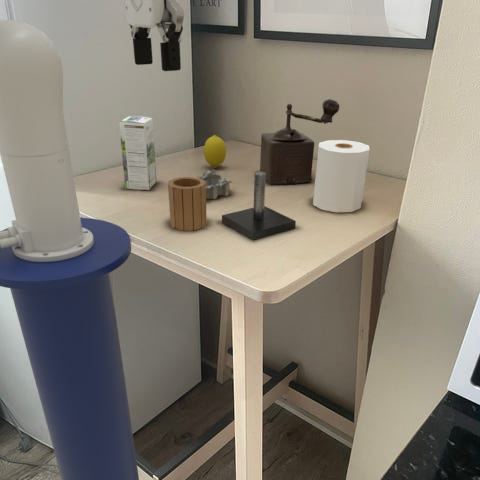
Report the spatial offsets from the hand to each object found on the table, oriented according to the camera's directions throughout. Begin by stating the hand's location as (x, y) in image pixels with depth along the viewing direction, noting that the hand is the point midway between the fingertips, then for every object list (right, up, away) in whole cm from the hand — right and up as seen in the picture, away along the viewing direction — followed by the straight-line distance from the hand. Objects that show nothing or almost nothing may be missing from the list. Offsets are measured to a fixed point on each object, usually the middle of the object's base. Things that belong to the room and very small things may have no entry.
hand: (157, 67), depth 84 cm
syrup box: (-8, -12, +29) cm, 33 cm away
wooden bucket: (+4, -24, +11) cm, 27 cm away
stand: (+17, -25, +11) cm, 32 cm away
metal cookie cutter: (+7, -15, +25) cm, 30 cm away
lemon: (+8, -4, +42) cm, 43 cm away
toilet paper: (+34, -18, +22) cm, 45 cm away
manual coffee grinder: (+27, -8, +37) cm, 47 cm away
